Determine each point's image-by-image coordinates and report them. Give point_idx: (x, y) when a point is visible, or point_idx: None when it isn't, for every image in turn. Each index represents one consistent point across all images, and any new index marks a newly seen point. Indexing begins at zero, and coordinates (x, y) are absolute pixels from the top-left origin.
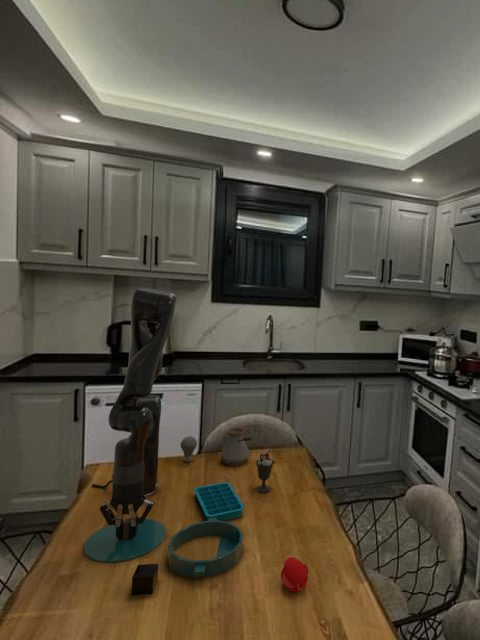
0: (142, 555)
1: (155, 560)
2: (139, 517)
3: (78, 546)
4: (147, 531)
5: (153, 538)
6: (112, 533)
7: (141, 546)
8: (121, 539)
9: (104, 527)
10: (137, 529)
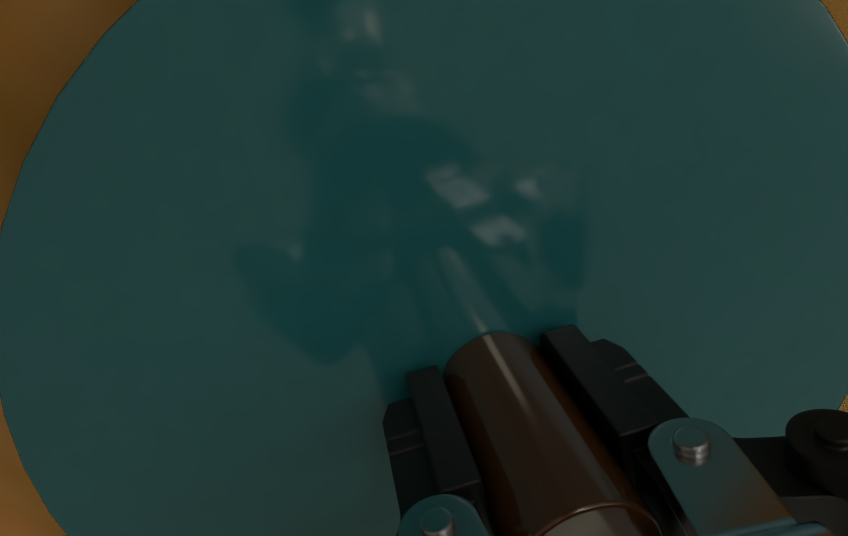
0: None
1: None
2: (797, 502)
3: (19, 527)
4: (679, 210)
5: (782, 321)
6: (263, 339)
7: None
8: None
9: (22, 236)
10: (646, 379)
